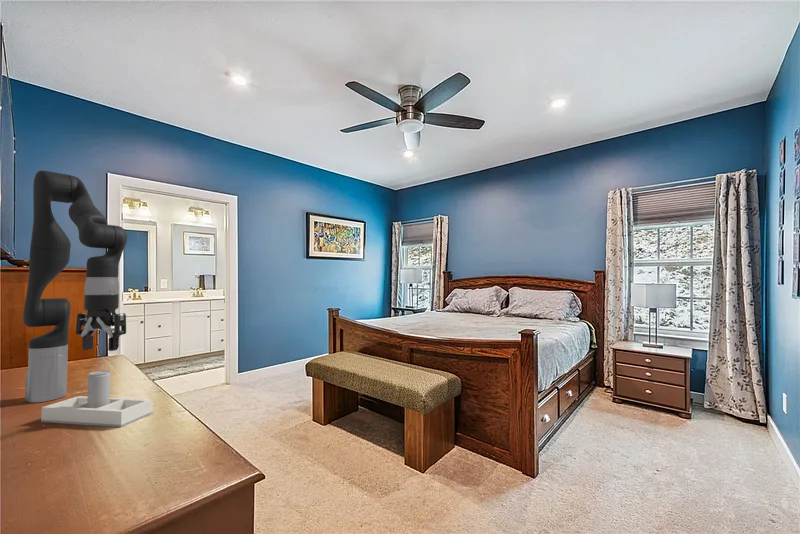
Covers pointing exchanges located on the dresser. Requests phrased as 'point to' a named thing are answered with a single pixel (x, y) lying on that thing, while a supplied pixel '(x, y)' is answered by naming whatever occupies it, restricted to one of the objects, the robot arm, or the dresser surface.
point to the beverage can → (98, 389)
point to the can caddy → (97, 412)
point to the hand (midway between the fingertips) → (100, 349)
